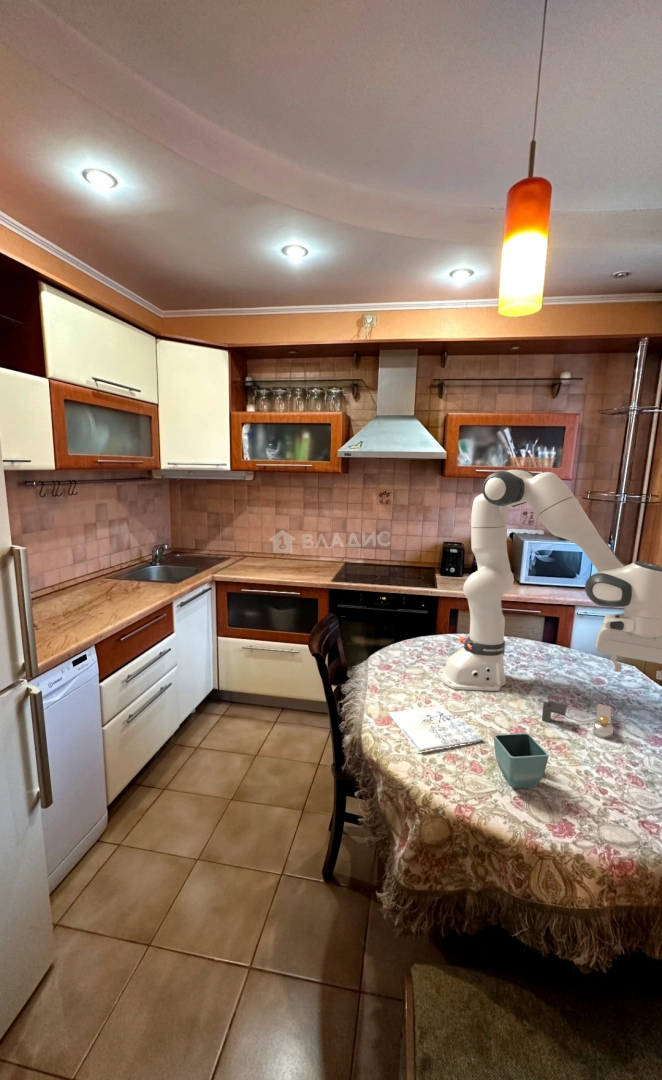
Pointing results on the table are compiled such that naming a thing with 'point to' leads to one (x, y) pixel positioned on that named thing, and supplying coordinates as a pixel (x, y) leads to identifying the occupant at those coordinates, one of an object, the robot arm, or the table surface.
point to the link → (603, 730)
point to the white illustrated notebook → (434, 728)
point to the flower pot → (520, 759)
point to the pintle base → (562, 712)
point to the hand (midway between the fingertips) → (638, 674)
